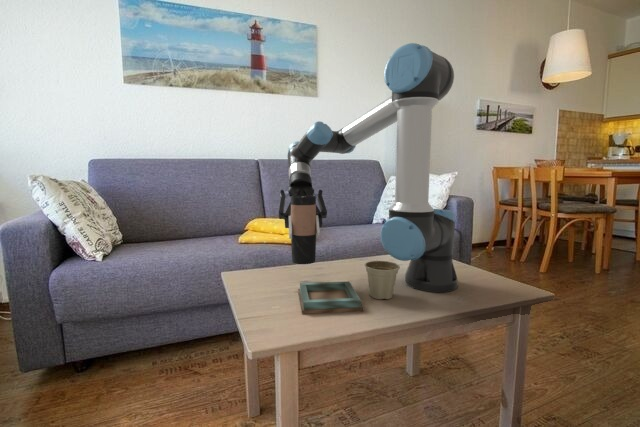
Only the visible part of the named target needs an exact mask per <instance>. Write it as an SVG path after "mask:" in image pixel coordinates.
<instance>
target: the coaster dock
mask: <svg viewBox="0 0 640 427" xmlns="http://www.w3.org/2000/svg"><path fill="white" fill-rule="evenodd" d="M297 293H298V300H299V305H300V306H299V307H300V311H301V314H302V315H304V314H305V315H306V314H328V313H329V314H330V313H350V312H364V307H363V305H362V300H361V298H360V296H359V295H358V293H357V292H356V290H355V289H354V287H353V285H352V284H351V282H350V281H327V282H325V281H323V282H300V283H299V288H297Z"/></svg>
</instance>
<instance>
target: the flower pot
mask: <svg viewBox="0 0 640 427" xmlns="http://www.w3.org/2000/svg"><path fill="white" fill-rule="evenodd" d="M364 266H365V269H366V272H367V282H368V294H369V295H370V297H371V298H373V299H378V300H384V299H386V300H389V299H391V298H392V297H393V294H394V291H395V290H394V289H395V284H396V278H397V275H398V273H399V270H400V269H401V266H400V264H399V263H395V262H393V261H389V260H388V261H385V260H370V261H367V262H365V263H364Z"/></svg>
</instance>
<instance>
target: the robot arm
mask: <svg viewBox="0 0 640 427" xmlns="http://www.w3.org/2000/svg"><path fill="white" fill-rule="evenodd" d="M383 79H384V82H385V85H386V86H387V88H388V89H389V91H391V96H390V97H388V98H386V99H385V100H383V101H382V102H380V103H379V104H377V105H376V106H374V107H373V108H372V109H370V110H368V111H367V112H365V113H364V114H362V115H361V116H359V117H358V118H356V119H354V120H353V121H352V122H350V123H348V124H347V125H345V126H344V127H342V128H340V129H339V130H337V131H336V130H335V131H334V130H332V128H331V127H330V126H329V125H328V124H327V123H324V122H323V121H319V120H318V121H316V122H313V124H312V125H311V126H310V127H309V128H308V129H307V130H306V132H305V134H304V135H303V136H302V137H301V139H300V140H299V141H294V142H293V143H291V144H290V145H288V148H287V149H288V150H287V165H288V185H289V188H288V190H284V189H281V190H280V191H279V192H280V193H279V195H280V197H279V198H280V202H279V207H278V219H279V220H282V219H283V220H284V228H285V229H288V239H289V240H291V239H292V224H291V201H290V203H289V204H288V206H287V208H286V210H285V205H286V203H285V202H286V199H287V198H288V196H289V197H290V198H291V196H295V195H298V196H299V197H305V196H307V195H312V196H316V199H317V203H318V205H317V204H316V239H320V235H321V229H320V228H322V227H323V219H326V218H327V217H328V211H327V208H326V204H325V200H324V198H323V190H322V189H319V190H315V189H314V188H313V180H312V171H311V162H313V160H314V159H315V158H316V157H317V156H318V155H319V154H320V153H333V154H334V153H335V154H340V155H344V154H345V155H346V154H350V153H353V151H354V150H355V149H356V146H357V145H358V144H360V143H363V142H364V141H366V140H367V139H368V138H371V137H372V136H374V135H376V134H378V133H379V132H381V131H383V130H384V129H386V128H388V127H390V126H392V125H393V124H395V123H396V155H395V159H396V160H395V190H394V191H395V194H394V199H395V200H394V203H392V205H391V206H390V207H389V208H388V219H387V220H386V221H385V222H384V224H383V225H382V227H381V229H380V234H379V235H380V242H381V244H382V247H383V248H384V250H385V251H386V252H387V253H388V255H389V256H390V257H392V258H393V259H395V260H398V261H403V262H407V261H409V264H408V266H407V269H406V271H405V275H404V283H405V284H406V285H408V286H409V287H411V288H414V289H416V290H420V291H425V292H430V293H431V292H433V293H447V292H452V291H454V290H457V289H458V280H459V279H458V276H457V273H456V270H455V269H456V268H455V266H454V260H453V259H454V256H453V255H454V243H455V229H456V228H455V225H456V214H455V212H454V211H452V210H450V209H441V208H434V207H433V206H432V205H431V204H430V202H429V193H430V170H431V144H432V143H431V141H432V120H433V119H432V118H433V115H432V114H433V109H434V108H435V106H436V105H438V103H439V101H441V100H442V99H444V98H445V97H446V96H447V95H448V93H449V92H450V91H451V89H452V87H453V84H454V79H455V73H454V68H453V66H452V63H451V62H450V61H449V60H448V59H447V58H446V57H444V56H443V55H440V54H438V53H436V52H435V51H432V50H431V49H430V48H429V47H428V46H426V45H423V44H422V45H421V44H419V43H416V42H415V43H413V42H412V43H411V42H410V43H406V44H403V45H401V46H400V47H398V48H397V49H396V50H395V51H393V53H392V55H391V56H389V58H388V60H387V62H386V64H385V67H384V71H383ZM318 206H319V207H318ZM284 210H285V212H284Z"/></svg>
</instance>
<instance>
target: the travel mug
mask: <svg viewBox="0 0 640 427" xmlns="http://www.w3.org/2000/svg"><path fill="white" fill-rule="evenodd" d="M290 202H291V215H290V216H291V224H292V239H290V241H291V242H290V243H291V244H290V245H291V261H292V262H291V263H293V264H297V265H310V264H311V265H312V264H313V263H315V262H316V253H317V252H316V251H317V249H316V246H317V236H316V205H317V198H316V196H315V195H313V196H312V195H307V196H305V197H299V196H298V195H295V196H291V197H290Z"/></svg>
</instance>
